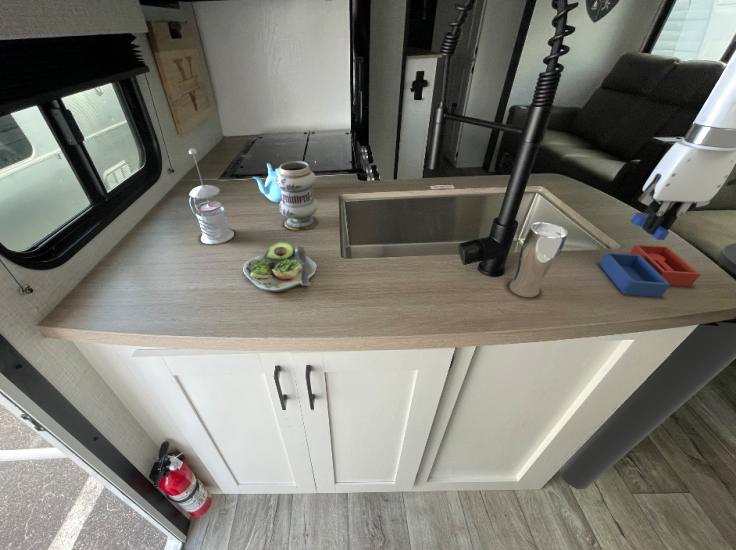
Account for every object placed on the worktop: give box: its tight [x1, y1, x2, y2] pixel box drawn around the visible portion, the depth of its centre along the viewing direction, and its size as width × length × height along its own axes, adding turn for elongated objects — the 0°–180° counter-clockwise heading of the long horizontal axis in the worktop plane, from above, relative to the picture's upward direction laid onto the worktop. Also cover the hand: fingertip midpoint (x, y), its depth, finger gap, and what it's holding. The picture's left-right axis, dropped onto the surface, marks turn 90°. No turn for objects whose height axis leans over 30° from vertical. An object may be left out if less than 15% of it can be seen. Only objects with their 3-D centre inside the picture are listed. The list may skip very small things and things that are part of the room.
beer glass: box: [508, 221, 569, 298], centre depth 69 cm, size 7×7×15 cm
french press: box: [188, 147, 235, 245], centre depth 91 cm, size 10×12×25 cm
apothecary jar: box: [275, 160, 319, 231], centre depth 98 cm, size 12×12×18 cm
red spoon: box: [648, 253, 674, 271], centre depth 77 cm, size 9×3×2 cm, turn 170°
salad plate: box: [242, 241, 317, 293], centre depth 80 cm, size 19×18×5 cm
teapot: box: [252, 162, 282, 203], centre depth 118 cm, size 15×15×10 cm
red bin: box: [628, 244, 702, 287], centre depth 77 cm, size 12×7×3 cm, turn 170°
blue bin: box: [599, 252, 671, 298], centre depth 75 cm, size 12×7×3 cm, turn 170°
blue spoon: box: [630, 212, 670, 241], centre depth 69 cm, size 9×3×2 cm, turn 170°
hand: (653, 231), depth 68 cm, fingers closed on blue spoon, 1 cm apart
